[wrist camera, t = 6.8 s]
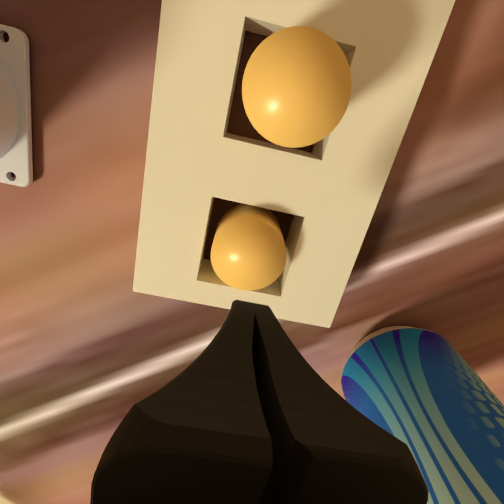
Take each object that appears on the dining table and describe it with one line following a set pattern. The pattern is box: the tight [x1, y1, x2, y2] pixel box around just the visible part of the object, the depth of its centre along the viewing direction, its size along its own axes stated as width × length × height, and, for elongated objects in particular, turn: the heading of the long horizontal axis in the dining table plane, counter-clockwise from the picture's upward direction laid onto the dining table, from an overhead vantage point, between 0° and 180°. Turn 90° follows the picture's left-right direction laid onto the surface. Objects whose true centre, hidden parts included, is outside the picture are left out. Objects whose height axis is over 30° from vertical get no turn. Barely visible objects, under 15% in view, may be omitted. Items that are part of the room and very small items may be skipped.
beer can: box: [341, 326, 504, 504], centre depth 18 cm, size 8×8×16 cm
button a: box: [211, 204, 287, 290], centre depth 19 cm, size 4×4×3 cm
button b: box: [242, 26, 352, 148], centre depth 14 cm, size 4×4×3 cm
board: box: [133, 0, 456, 328], centre depth 17 cm, size 12×24×3 cm, turn 167°
